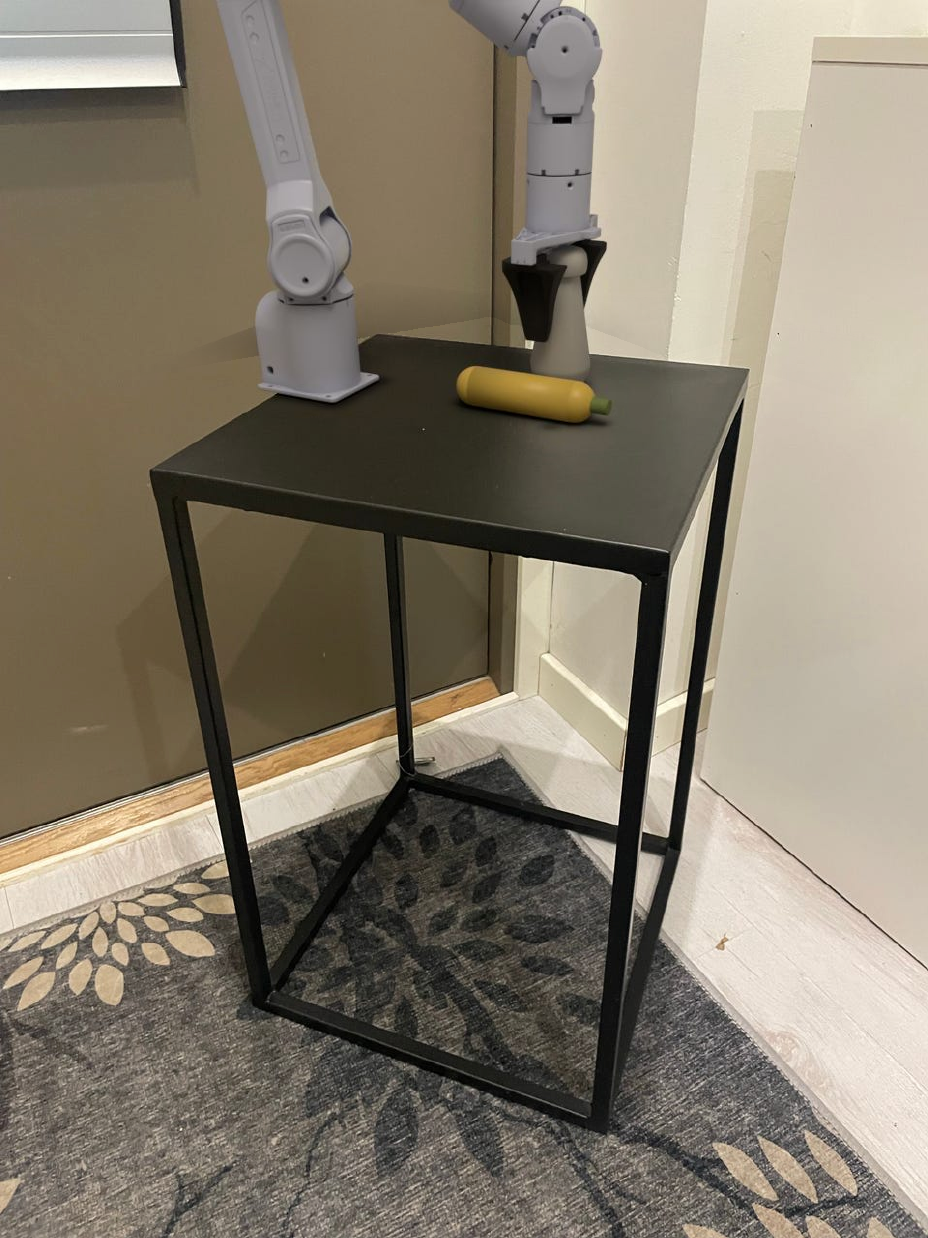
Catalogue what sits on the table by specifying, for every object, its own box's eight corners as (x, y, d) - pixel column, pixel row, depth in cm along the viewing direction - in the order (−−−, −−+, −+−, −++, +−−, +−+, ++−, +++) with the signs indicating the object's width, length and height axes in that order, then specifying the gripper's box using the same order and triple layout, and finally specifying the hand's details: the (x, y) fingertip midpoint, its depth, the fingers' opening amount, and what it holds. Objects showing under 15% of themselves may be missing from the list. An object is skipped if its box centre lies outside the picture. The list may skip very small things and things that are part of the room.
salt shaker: (591, 397, 87) (599, 252, 80) (531, 398, 88) (533, 254, 80) (585, 377, 92) (592, 239, 85) (528, 378, 92) (530, 241, 85)
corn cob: (449, 407, 86) (448, 369, 84) (468, 396, 88) (467, 358, 87) (600, 433, 80) (602, 393, 78) (615, 420, 82) (618, 381, 80)
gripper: (567, 185, 73) (560, 355, 81) (631, 164, 84) (621, 316, 91) (489, 181, 76) (489, 345, 84) (560, 161, 87) (556, 308, 94)
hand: (553, 329), depth 88 cm, fingers open, 7 cm apart
